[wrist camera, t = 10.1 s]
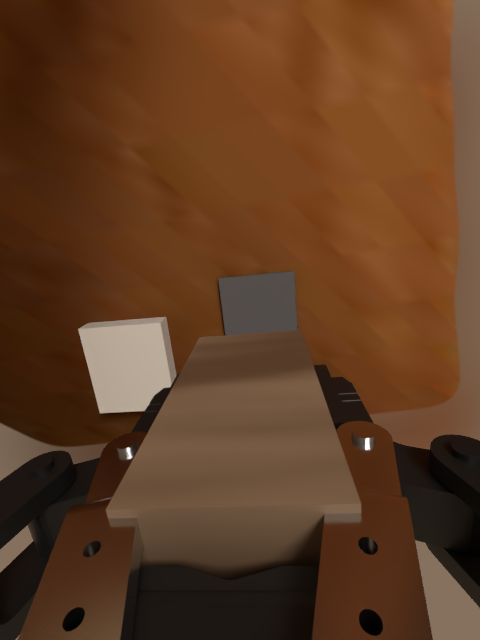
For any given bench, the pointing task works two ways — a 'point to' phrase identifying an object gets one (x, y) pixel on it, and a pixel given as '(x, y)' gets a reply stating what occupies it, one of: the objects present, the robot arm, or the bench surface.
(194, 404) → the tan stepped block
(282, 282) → the mat
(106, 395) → the slab tile
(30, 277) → the bench surface
